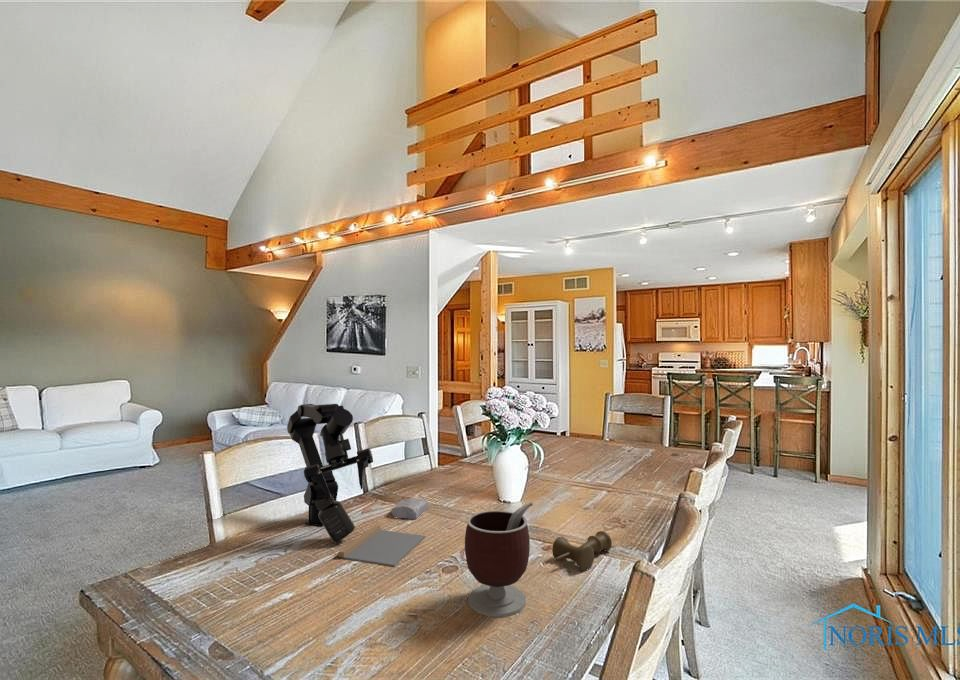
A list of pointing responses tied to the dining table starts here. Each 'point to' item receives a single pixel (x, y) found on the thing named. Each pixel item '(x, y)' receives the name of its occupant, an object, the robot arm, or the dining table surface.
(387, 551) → the mat
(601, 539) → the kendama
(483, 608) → the mate gourd
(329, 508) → the supplement bottle
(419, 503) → the stone block
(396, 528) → the dining table surface
